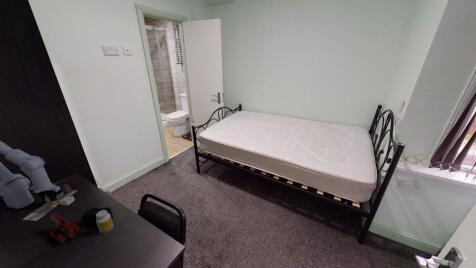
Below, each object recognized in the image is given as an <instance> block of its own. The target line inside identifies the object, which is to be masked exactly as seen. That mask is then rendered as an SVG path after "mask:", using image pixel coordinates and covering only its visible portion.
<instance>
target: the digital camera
mask: <svg viewBox="0 0 476 268" xmlns="http://www.w3.org/2000/svg"><path fill="white" fill-rule="evenodd" d="M102 210H106V211H107V213H109V214H110V216H111V219H112V220H113V219H114V214H113V212H112V209H111V207H110V206H109V207H100V208H97V207H92V208H89V209H86V210H85V211H84V213H83V214H82V215H81V217H80V219H81V220H82V222H83V223H82V224H83V225H84V227H85V228H93V227H98V226H97V223H96V219H97V217H96V214H97V213H98V212H100V211H102Z"/></svg>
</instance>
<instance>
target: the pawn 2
mask: <svg viewBox="0 0 476 268" xmlns="http://www.w3.org/2000/svg"><path fill="white" fill-rule="evenodd" d="M61 189H62V192H64V195H67V194H70V193H71V192H72V190H73V189H71V187H70V185H69V184H63V185H62V187H61Z"/></svg>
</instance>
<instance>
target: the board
mask: <svg viewBox="0 0 476 268" xmlns="http://www.w3.org/2000/svg"><path fill="white" fill-rule="evenodd" d="M71 190H72V192H71V193H70V194H67V195H64V192H63V191H62V192H61V193H59V194H57V200H56V202H54V203H52V204H49V205H47V204H46V203H44V204H42V206H40V207H39V208H37V209H36V210H34V211H32V212H31V213H29V214H28V215H26V216H25V217H24V218H23V219H21V220H22V221H35V222H37V221H38V220H40V219H41V218H43V217H44V216H45V215H46V214H48V213H49V212H50V211H52V210H53V209H55V208H56V207H57V206H59V205H61V204H60V202H59V201H60V200H61V199H63V198H64V197H66V196H73V195H74V194H75V193H76V192H77V191H78V190H74V189H71Z"/></svg>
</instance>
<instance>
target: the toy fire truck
mask: <svg viewBox="0 0 476 268" xmlns="http://www.w3.org/2000/svg"><path fill="white" fill-rule="evenodd" d="M49 217H50V219H51V221H52V223H53V224H54V226H55V229H52V230H50V231H49V234H50V236H51V237H52V238H53V239H54V240H55V239H56V240H57V241H58V242H59V244H63V243H65V242H66V241H67V238H68V237H69V238H71V239H73V238H74V237H76V234H78V233H79V232H80V231H81V229H80V227H79V225H77V224H74V223H73V222H72V221H71V220H69V219H67V218H65V217H63V216H61V215H59V214H58V213H56V212H54V213H52V214H50V215H49Z"/></svg>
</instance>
